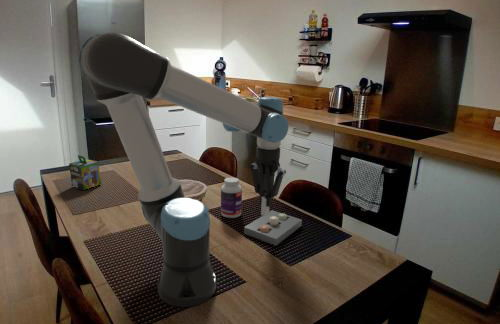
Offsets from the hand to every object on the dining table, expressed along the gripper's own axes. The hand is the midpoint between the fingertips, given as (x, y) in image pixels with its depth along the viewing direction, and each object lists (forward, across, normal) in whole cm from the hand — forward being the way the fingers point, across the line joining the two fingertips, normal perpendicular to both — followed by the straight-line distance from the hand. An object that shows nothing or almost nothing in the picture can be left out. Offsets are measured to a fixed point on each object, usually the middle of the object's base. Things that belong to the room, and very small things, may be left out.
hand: (265, 214), depth 117 cm
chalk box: (+9, +89, +13) cm, 90 cm away
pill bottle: (+9, +19, -6) cm, 22 cm away
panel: (+8, 0, -6) cm, 10 cm away
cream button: (+7, 0, -6) cm, 9 cm away
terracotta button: (+8, 0, 0) cm, 8 cm away
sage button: (+8, 0, -12) cm, 14 cm away
